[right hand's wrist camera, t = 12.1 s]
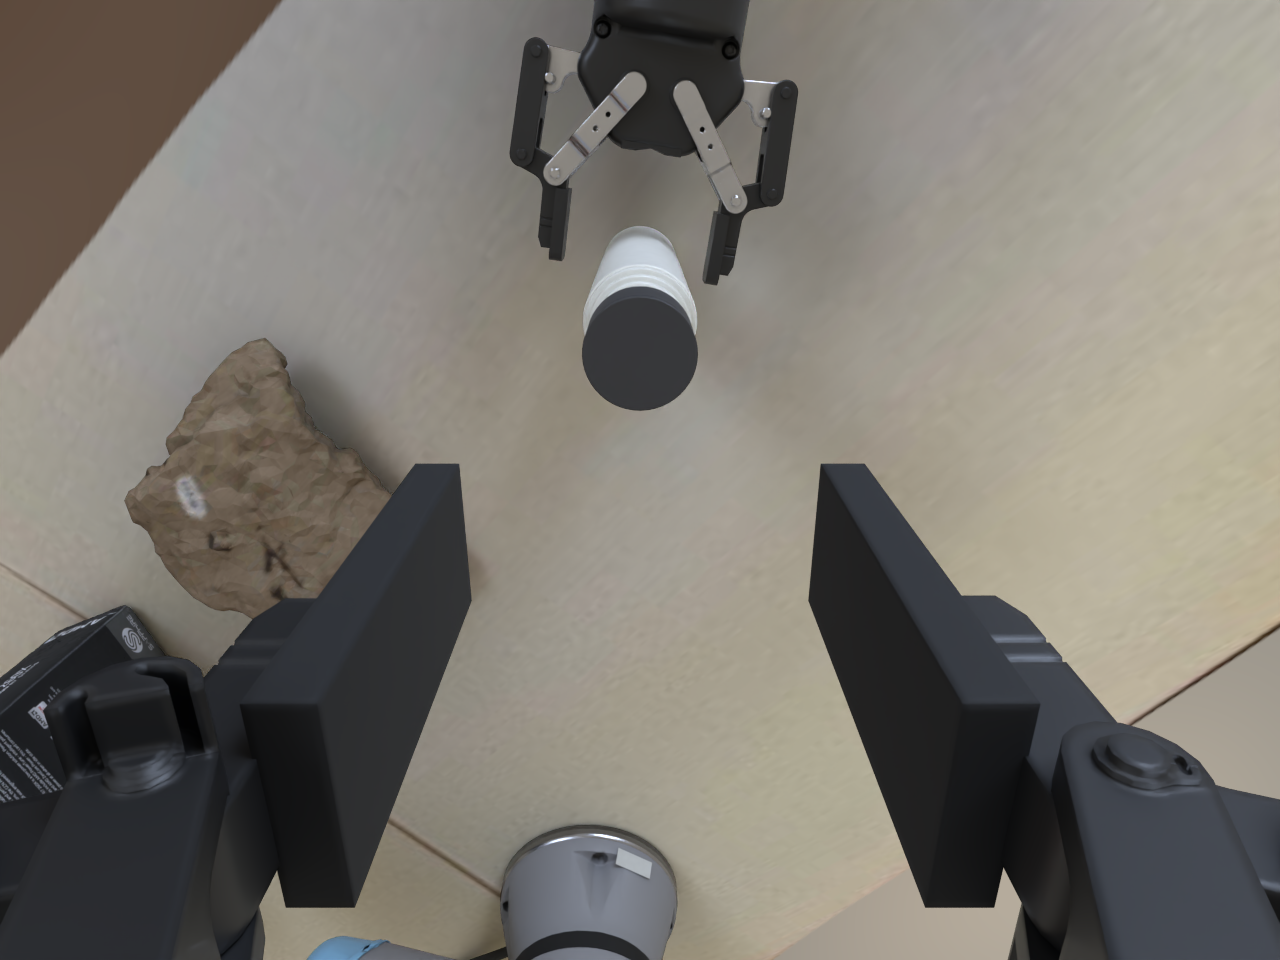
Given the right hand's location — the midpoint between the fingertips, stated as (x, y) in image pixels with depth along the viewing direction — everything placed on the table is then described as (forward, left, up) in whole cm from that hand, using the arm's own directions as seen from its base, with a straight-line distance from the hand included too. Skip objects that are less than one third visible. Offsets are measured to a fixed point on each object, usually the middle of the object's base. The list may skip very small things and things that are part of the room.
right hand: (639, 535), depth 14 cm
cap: (0, 0, -14) cm, 14 cm away
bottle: (0, 0, -39) cm, 39 cm away
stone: (-28, 0, -39) cm, 48 cm away
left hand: (0, 0, -32) cm, 32 cm away
